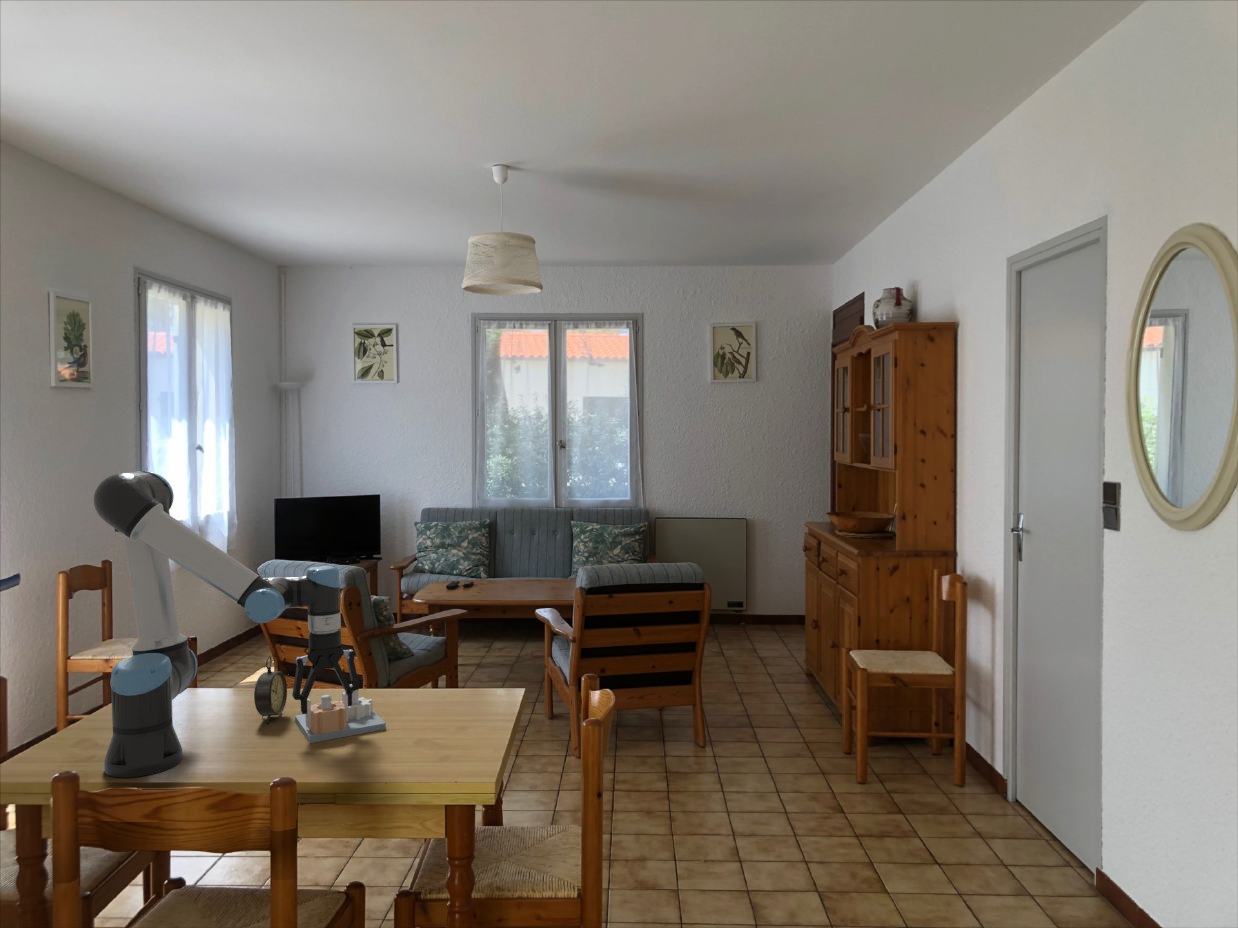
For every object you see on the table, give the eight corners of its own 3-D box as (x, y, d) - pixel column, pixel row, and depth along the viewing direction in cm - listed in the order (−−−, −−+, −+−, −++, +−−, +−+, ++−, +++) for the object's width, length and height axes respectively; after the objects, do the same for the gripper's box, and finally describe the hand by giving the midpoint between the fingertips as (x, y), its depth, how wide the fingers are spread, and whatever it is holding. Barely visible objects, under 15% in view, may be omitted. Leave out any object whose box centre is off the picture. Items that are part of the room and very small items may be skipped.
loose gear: (313, 734, 204) (313, 713, 203) (306, 725, 210) (306, 704, 210) (347, 728, 208) (347, 708, 207) (340, 719, 214) (339, 699, 214)
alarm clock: (272, 725, 215) (270, 661, 214) (250, 725, 215) (249, 661, 214) (288, 711, 226) (287, 650, 225) (268, 711, 226) (267, 650, 225)
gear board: (309, 743, 202) (308, 705, 202) (295, 721, 218) (294, 686, 217) (385, 728, 211) (385, 692, 211) (366, 709, 227) (366, 675, 227)
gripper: (282, 639, 200) (284, 735, 200) (372, 627, 210) (374, 719, 211) (276, 633, 206) (279, 726, 207) (364, 622, 217) (366, 711, 218)
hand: (327, 722), depth 209 cm, fingers closed on loose gear, 8 cm apart
